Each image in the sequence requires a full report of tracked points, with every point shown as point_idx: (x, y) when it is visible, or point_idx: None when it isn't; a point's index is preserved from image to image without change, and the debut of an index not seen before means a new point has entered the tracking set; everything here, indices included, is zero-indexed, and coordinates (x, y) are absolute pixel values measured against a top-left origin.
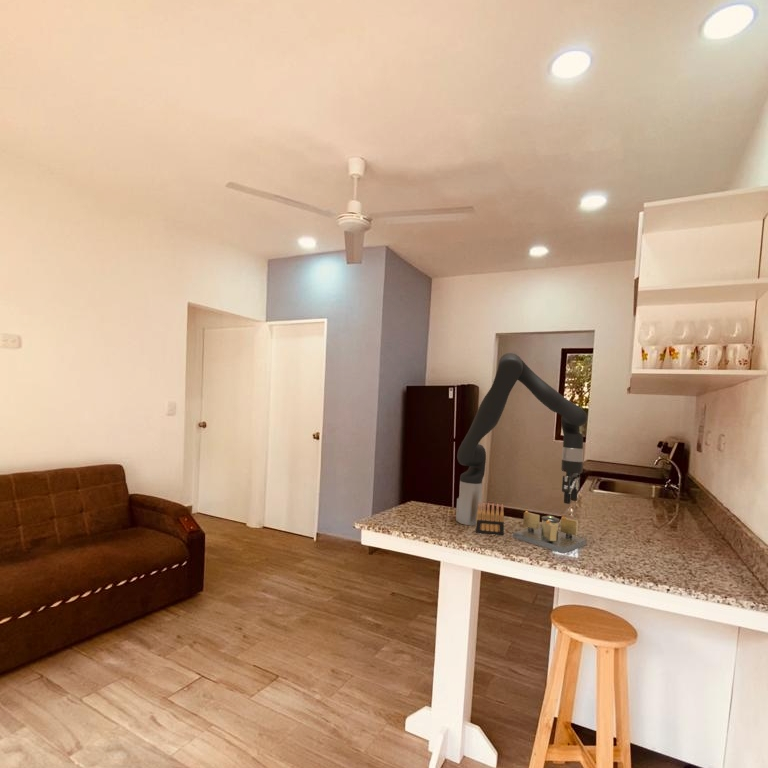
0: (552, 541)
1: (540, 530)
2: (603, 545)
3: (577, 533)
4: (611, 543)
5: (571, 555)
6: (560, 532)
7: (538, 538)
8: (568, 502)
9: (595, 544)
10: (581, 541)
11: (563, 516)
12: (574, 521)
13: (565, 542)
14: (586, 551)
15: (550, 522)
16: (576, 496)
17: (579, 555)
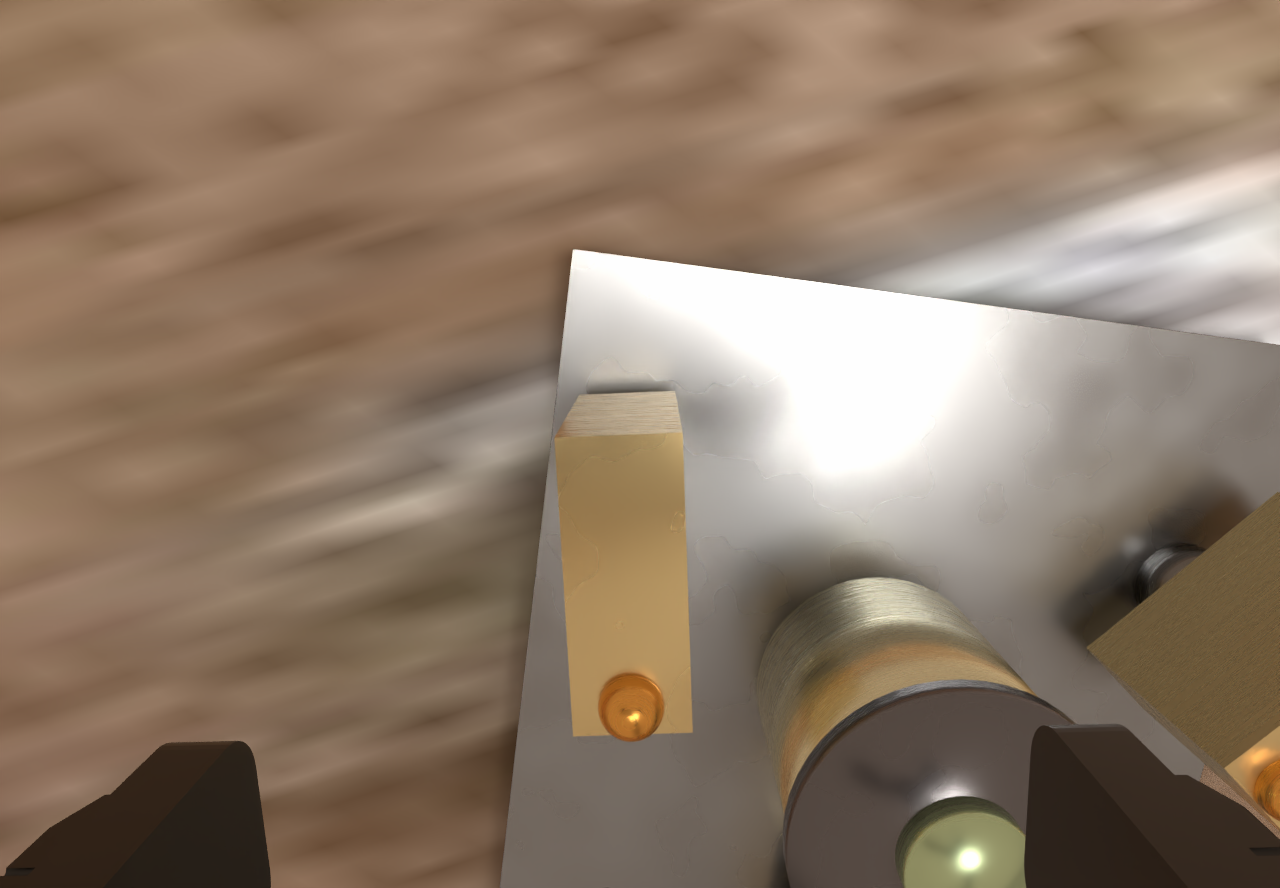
0: (1202, 548)
1: (698, 866)
2: (362, 66)
3: (588, 396)
4: (130, 8)
5: (1266, 239)
6: (533, 650)
7: (1143, 740)
8: (1178, 775)
9: (421, 168)
10: (753, 274)
11: (644, 725)
12: (682, 473)
13: (1026, 420)
14: (902, 152)
15: (1266, 749)
16: (141, 853)
17: (1178, 162)
